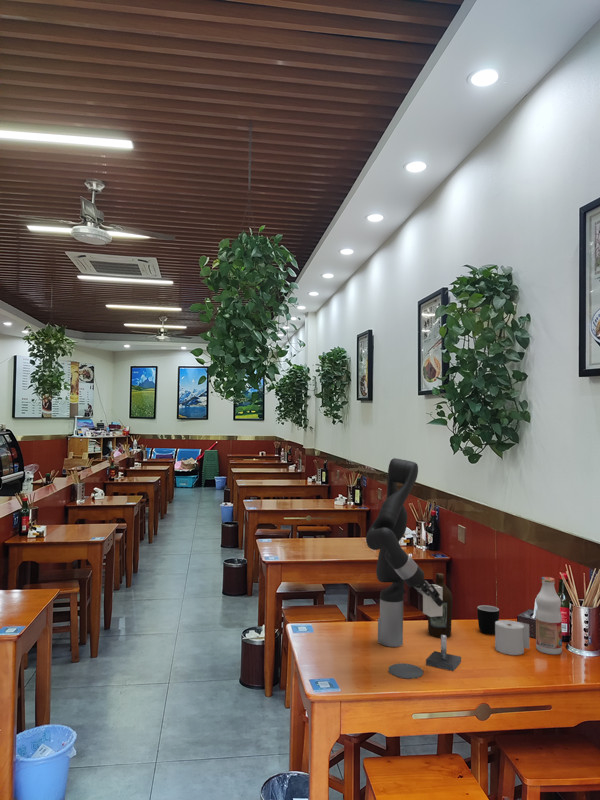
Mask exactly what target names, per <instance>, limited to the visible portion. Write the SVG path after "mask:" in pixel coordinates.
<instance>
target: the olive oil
mask: <svg viewBox="0 0 600 800" xmlns="http://www.w3.org/2000/svg"><path fill="white" fill-rule="evenodd" d="M434 584H435V585H437V586H440V587H442V588H443V616H436V617H430V616H428V615H427V633H428V635H430V636H432V637H434V638H440V639H441V635H446V636H447V638H450V637H451V636H452V620H453V619H452V618H453V616H452V615H453V600H454V599H453V594H452V592H451V590H450V588H448V586H447V585H446V584H445V578H444V573H440V572H439V573H438V572H437V573H435V583H434Z"/></svg>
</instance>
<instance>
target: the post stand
mask: <svg viewBox="0 0 600 800" xmlns="http://www.w3.org/2000/svg"><path fill="white" fill-rule="evenodd" d="M447 639H448V637H447V636H446V635H441V638H440V651H433V652H431V654H430V655H429V656H427V658H426V659H425V666H429V667H433V668H437V669H442V670H446V669H447V671H450V670H451V672H455V670H456V669H457V667H458V666H459V665H460V664H461V663H462V656H460V655H455V654H450V653H447V651H448V650H447V645H448V644H447Z"/></svg>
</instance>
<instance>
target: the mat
mask: <svg viewBox="0 0 600 800" xmlns="http://www.w3.org/2000/svg"><path fill="white" fill-rule="evenodd" d="M388 673H389V674H390V675H392V676H394V677H396V678H400V679H406V680H413V679H412V678H415V679H419V678H421V677H423V676H422V675H424V670H423V669H422V668H421V667H420V666H418V665H415V664H411V663H404V662H401V663H400V662H399V663H394V664H391V665H389V666H388ZM418 677H419V678H418Z"/></svg>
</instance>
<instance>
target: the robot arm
mask: <svg viewBox="0 0 600 800" xmlns="http://www.w3.org/2000/svg"><path fill="white" fill-rule="evenodd" d="M387 469H388V470H387V480H386V481H387V482H386V483H387V486H386V499H385V500H384V501H383V503H382V504H381V507H380V510H379V511H378V515H377V517H376V519H375V520H374V522H373V523H372V524H371V526H370V527H369V528H368V530H367V533H366V536H365V542H366V545H367V547H368V548H369V549H370V550H372V551H376V550H379V553H378V557H377V562H376V568H375V570H376V572H375V573H376V578H377V580H378V581H379V582H380V583H385V584H386V583H387V584H388V583H391V584H390V585H389V586H388V587H386V588H384V589H382V590H381V591H380V592H379V593H380V594H379V617H378V618H377V643H378V644H380V645H382V646H385V647H389V648H391V647H392V648H398V647H402V646H403V645H404V644H403V643H404V595H405V584H406V585H407V586H408V587H409V588H413V589H414V590H415V591H416V592H417V593H418V594H420V595H421V596H423V593H424V594H425V595H426V596H429V597H430V598H431V599H432V600H434V602H435V603H436V604H437V605H438V606H440V607H441V605H442V604H443V601H442V600H441V599H440V598H439V596H440V594H439V593H438V592H437V590H436V589H435V588H434V586H433V584H430V583H429V582H428V581H427V580H426V579H425V573H424V570H423V569H422V568H421V567H420V566H419V564H417V563H416V562H415V560H414V559H413V558H412V557H411V556H409V555H408V553H406V552H405V550H404V549H403V548H402V547H401V545H400V541H401V540H402V538H403V537H404V535H405V533H406V530H407V525H408V524H407V523H408V513H407V509H406V507H405V506H404V505H405V502H406V500H407V499H408V497H409V494H410V493H411V491H412V490H413V487H414V485H415V483H416V481H417V478H418V475H419V474H418V473H419V465H418V463H416V462H415V461H412V460H408V459H407V460H406V459H402V458H395V457H394V458H392V459H390V462H389V464H388V468H387ZM398 484H402V485H401V487H400V488H398ZM426 592H428V593H426Z"/></svg>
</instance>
